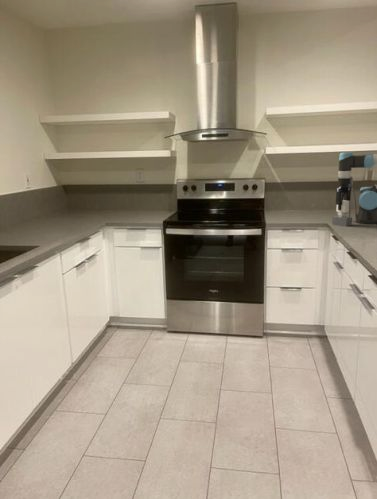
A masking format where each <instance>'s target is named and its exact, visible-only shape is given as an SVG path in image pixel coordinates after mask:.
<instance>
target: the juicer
mask: <svg viewBox="0 0 377 499" xmlns="http://www.w3.org/2000/svg"><path fill="white" fill-rule="evenodd" d="M350 178H351V183H350V184H349V187H352V189H351V193H352V197H353V206H354V215H355V218H356V216H357V213H358V211H357V200H356V193H355V190H354V187H353V184H354V178H353V176H352V175H351V177H350ZM348 215H349V216H348V217H351V202H350V203H349V212H348Z"/></svg>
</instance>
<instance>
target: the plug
mask: <svg viewBox="0 0 377 499" xmlns="http://www.w3.org/2000/svg"><path fill="white" fill-rule="evenodd" d="M342 205H343V210H342V215H338V216H339V217H341V218H345V217H347V214H346V212H347V213H349V201H345V200H344V199H343V202H342ZM335 209H336V210H335V212H337V213H338V205H337V204H336V208H335Z"/></svg>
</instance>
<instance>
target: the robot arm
mask: <svg viewBox="0 0 377 499" xmlns="http://www.w3.org/2000/svg"><path fill="white" fill-rule="evenodd" d="M373 167H377V153H373V154H371V153H370V154H361V155H354V154H353V152H340V153H339V158H338V175H337V177H338V178H337V184H338V185H339V186H338V187H337V188H335V205H336V206H337V205H338V212H337V216H339V215H342V210H343V205H342V202H343V200H345V201H349V203H350V204H351V196H352V195H351V194H352V190H351V189H352V187H353V186H352V187H349V184H350V183H351V178H350V177H351V176H352V169H361V168H362V169H363V168H364V169H365V168H366V169H368V168H373ZM359 189H360V190H359V197H358V211H357V216H356V218H355V219H354V222H355V223H356V224H357V223H358V224H366V225H375V224H376V225H377V184H374V185H372V186H362V187H360V188H359ZM347 214H348V212H346V215H347Z"/></svg>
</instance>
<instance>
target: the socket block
mask: <svg viewBox="0 0 377 499" xmlns="http://www.w3.org/2000/svg"><path fill="white" fill-rule="evenodd" d="M352 222H353V217H352V216H350V217H349V216H346V217H345V218H341V217H339V215H335V216H332V218H331V225H333V226H334V225H335V226H340V227H348V226H349V225H350V226H352V225H353V223H352Z"/></svg>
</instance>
